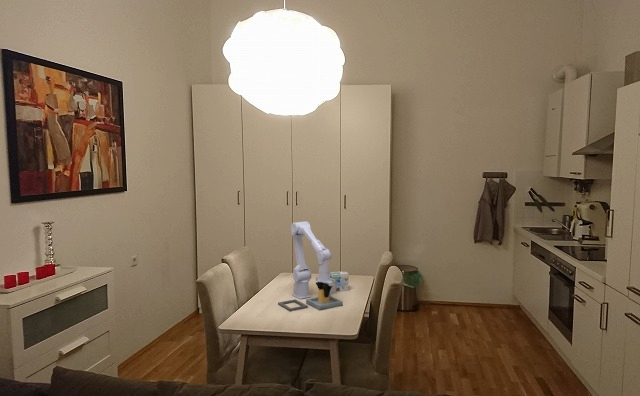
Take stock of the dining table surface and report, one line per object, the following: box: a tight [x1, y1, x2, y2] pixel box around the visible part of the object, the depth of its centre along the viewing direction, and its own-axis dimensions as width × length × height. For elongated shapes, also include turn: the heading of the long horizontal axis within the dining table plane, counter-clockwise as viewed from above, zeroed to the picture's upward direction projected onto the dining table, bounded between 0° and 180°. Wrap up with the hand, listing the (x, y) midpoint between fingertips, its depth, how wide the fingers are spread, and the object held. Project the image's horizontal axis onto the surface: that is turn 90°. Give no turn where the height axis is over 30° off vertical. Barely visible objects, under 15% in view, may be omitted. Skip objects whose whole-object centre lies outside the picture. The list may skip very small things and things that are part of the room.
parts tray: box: [305, 295, 344, 311], centre depth 247 cm, size 14×15×2 cm
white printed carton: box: [329, 270, 350, 292], centre depth 276 cm, size 11×7×11 cm, turn 106°
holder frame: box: [277, 299, 309, 312], centre depth 245 cm, size 14×11×1 cm
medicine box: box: [325, 277, 337, 296], centre depth 268 cm, size 8×4×9 cm, turn 141°
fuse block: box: [317, 289, 329, 305], centre depth 247 cm, size 4×5×8 cm
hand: (324, 295), depth 247 cm, fingers open, 5 cm apart
